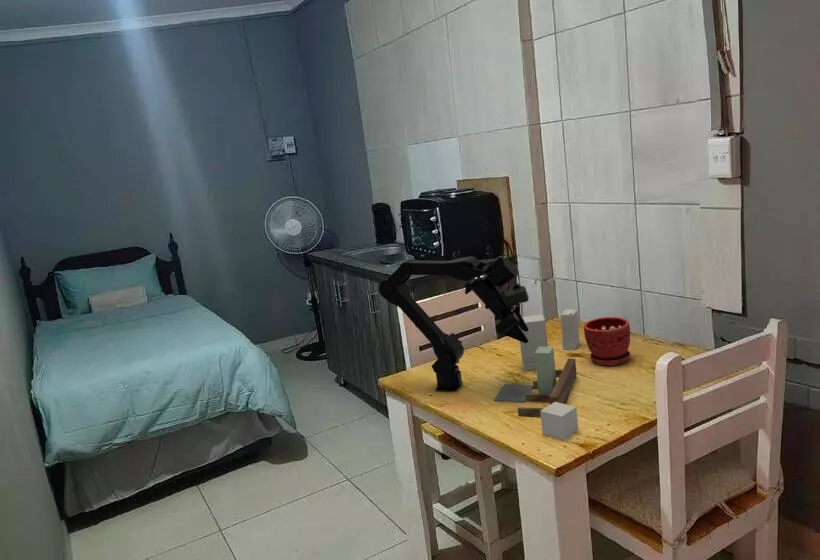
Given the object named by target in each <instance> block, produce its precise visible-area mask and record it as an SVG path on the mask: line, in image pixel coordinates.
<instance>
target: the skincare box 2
mask: <svg viewBox="0 0 820 560" xmlns="http://www.w3.org/2000/svg"><path fill="white" fill-rule="evenodd" d="M560 322H561V323H560V325H561V338H562V339H561V341H562V349H563V350H568V351H569V350H570V351H571V350H573V351H574V350H577V348H578V347H579V345H580V343H581V341H580V329H579V327H580V326H579V313H578V309H577V308H574V309H568V308H567V309H564V310H563V312H562V313H561V315H560Z"/></svg>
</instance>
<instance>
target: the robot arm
mask: <svg viewBox="0 0 820 560" xmlns="http://www.w3.org/2000/svg"><path fill="white" fill-rule="evenodd" d="M483 275H484V276H483ZM412 276H439V277H440V276H442V277H443V276H444V277H445V276H446V277H449V278H452V279H454V280H458V281H463V282H466V283H465V284H464V287H465V289H464V290H465V291H464V294H465V295H469V293H471V292H473V293H474V294H475V296H476V297H478V298H479V300H480V301H481V302H482V303H483V304H484V308H485V309H486V310H489V311H490V312H491V314H493V315H494V317H493V318H494V319H495V321H496V322H495V331H496V332H497V333H498V334H499V335H501V336H507V337H509V338H512V339H514V340H517V341H518V342H520V341H521V342H523V343H525V344H526V343H527V342H528V339H527V337H526V336H525V334H524V333H523V331H525V332H527V331H528V330H529V329H528V327H527V325H526V323H525V321H524V319H523V318H522V317H523V316H522V313H521V303H527V302H528V301H529V293H528V292H527V288H526V286H525V285H521V284H520V283H514V284H512V289H510V290H509V291H507V292H506V291H505V290H503V289H499V288H498V287H500V288H503V286H505V285H507V284H508V283H509V282H510V281H512V280H513V279H514V278H516V277H517V276H519V271H518V269H517V267H516V265H515V264H514V263H513V262H512V261H510V260H509V259H507V258H506V257H505V256H504V255H501V256H500V257H497V259H496V260H495V261H494V262H493V263H492V264H489V263H486V262H483V261H480V260H479V259H478V258H477V257H475V256H464V257H459V258H455V259H451V260H425V259H424V260H422V259H421V260H420V259H418V260H415V259H412V258H411V259H406V260H405V261H403V262H401V263H400V265H399V266H398V267H397V269H395V270H394V271H393V273H392V274H391V275H389V276H388V277H387V278H385V279H383V280H381V282H380V283H379V284H378V293H379V295H380V296H381V297H382V298H383V299H385V300H386V301H387V302H388V303H389V304H391V305H393V306H396V307H397V308H399V309H400V310H401V311H402V312H403V314H404V315H405V316H406V317H407V318H408V319H409V320H410V322H412V324H414V326H415V327H416V328H417V329H418V330H419V332H421V334H423V336H424V337H425V338H426V339H427V340H428V341H429V342H430V344H431V347H432V350H433V353H434V355H435V357H436V358H437V359H436V360H435V361H434V363H433V364H432V365H431V369H432V370H433V372H434V373H435V377H436V384H437V386H436V387H435V391H437V392H438V391H440V392H441V391H443V392H456V391H458V390H459V388H460V387H461V386H462V385H463V383H464V382H463V379H462V372H461V370H460V368H459V365H457V364H458V363H459V362H460V359H461V358H463V356H464V354H465V353H464V352H465V347H464V346H463V341H462V340H460V339H458V337H457V336H456V334H455V333H454V332H452V333H450V334H447V333H445V332H444V331H442V329H441V328H440V327H439V326H438V325H437V324H436V322H435V321H434V320H433V319H432V318H431V317H430V316H429V314H428V313H426V311H425V310H424V309H423V308H422V307H421V306H420V305H419V304H418V302H417V301H416V300H415V299H414V298H413V297H412V295H411V291H410V288H409V286H408V285H407V282H408V281H409V280H410V279H411V277H412ZM474 278H475V279H474ZM472 279H474V280H472ZM471 280H472V281H471ZM522 330H523V331H522Z"/></svg>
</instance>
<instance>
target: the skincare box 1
mask: <svg viewBox="0 0 820 560" xmlns="http://www.w3.org/2000/svg"><path fill="white" fill-rule="evenodd" d="M522 318H523V319H524V321H525V323H526V325H527V327H528V329H529V330H528V331H527V332H525V331H523V330H522V331H523V333H524V334H525V336H526V337H527V339H528V342H527V343H526V344H525V343H523V342H521V341H519V345H520V355H521V360H522V366H523V367H522V368H523V370H524V371H533V370H535V371H536V362H535V352H536V350H537V348H538V347H549V345H548V344H549V343H548V335H547V334H548V333H547V327H546V319H545V317H544V315H543V314H536V315H535V314H534V315H527V316H522Z"/></svg>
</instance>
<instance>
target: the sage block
mask: <svg viewBox="0 0 820 560" xmlns="http://www.w3.org/2000/svg"><path fill="white" fill-rule="evenodd" d="M535 362H536V369H535V371H536V381H537V382H538V389H537V390H538V394H551V393H552V391H553V389H554V387H555V385H556V383H557V381H558V380H557V377H556V370H557V369H556V363H555V352H554V346H548V347H538V348H537V350H536V352H535Z"/></svg>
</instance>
